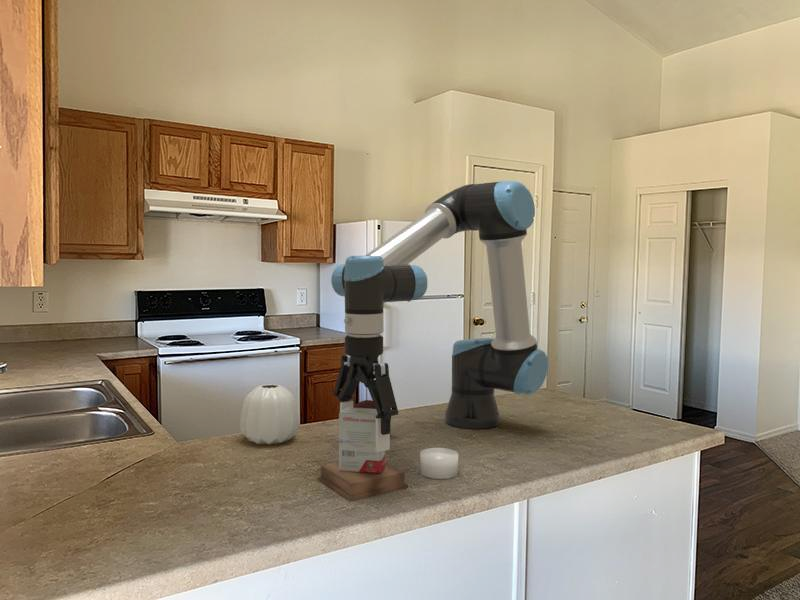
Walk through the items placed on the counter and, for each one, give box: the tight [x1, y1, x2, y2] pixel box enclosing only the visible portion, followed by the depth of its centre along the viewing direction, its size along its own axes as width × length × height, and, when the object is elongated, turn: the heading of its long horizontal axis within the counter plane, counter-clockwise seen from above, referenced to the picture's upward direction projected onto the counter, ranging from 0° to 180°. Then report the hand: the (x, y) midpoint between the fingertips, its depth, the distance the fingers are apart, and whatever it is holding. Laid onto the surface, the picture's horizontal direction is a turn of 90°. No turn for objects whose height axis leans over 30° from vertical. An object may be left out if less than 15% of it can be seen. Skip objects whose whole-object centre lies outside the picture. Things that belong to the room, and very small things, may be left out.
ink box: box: [338, 407, 386, 474], centre depth 121 cm, size 9×5×12 cm, turn 79°
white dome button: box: [419, 447, 459, 480], centre depth 129 cm, size 8×8×4 cm
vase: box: [239, 383, 300, 445], centre depth 150 cm, size 14×14×13 cm
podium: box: [317, 461, 409, 502], centre depth 122 cm, size 13×13×3 cm
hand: (363, 441), depth 122 cm, fingers open, 13 cm apart
